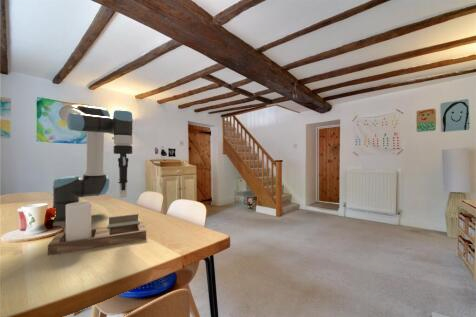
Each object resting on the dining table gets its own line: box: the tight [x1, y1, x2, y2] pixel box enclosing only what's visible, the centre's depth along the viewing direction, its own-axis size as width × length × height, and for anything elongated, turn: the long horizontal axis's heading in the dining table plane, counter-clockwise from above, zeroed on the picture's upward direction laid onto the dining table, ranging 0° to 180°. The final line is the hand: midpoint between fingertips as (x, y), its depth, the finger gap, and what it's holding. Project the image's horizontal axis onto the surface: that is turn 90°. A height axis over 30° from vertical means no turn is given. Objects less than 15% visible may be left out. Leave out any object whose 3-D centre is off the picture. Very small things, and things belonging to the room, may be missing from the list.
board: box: [47, 221, 147, 256], centre depth 96 cm, size 27×32×4 cm
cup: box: [65, 201, 92, 241], centre depth 86 cm, size 8×8×16 cm
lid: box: [106, 213, 141, 228], centre depth 104 cm, size 13×13×4 cm
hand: (123, 197), depth 99 cm, fingers closed
